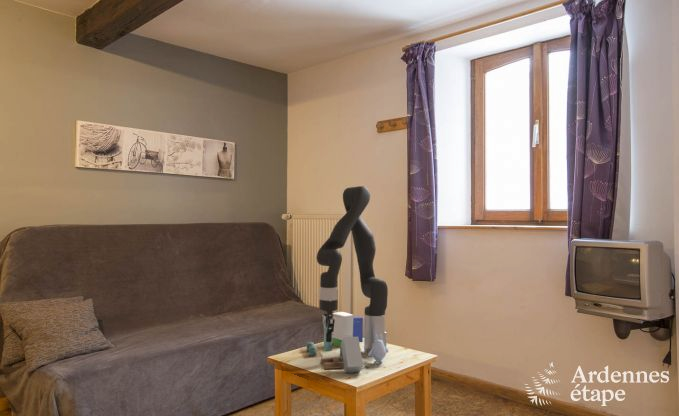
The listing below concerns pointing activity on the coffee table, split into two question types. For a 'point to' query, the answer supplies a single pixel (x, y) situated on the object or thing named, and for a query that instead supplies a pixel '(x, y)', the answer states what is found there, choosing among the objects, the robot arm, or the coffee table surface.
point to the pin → (327, 344)
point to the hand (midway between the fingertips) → (327, 340)
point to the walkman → (358, 328)
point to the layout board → (311, 351)
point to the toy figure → (378, 350)
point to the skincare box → (342, 327)
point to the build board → (333, 361)
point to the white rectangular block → (351, 354)
